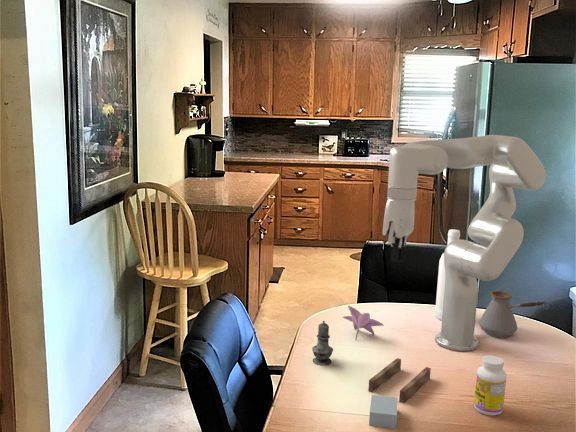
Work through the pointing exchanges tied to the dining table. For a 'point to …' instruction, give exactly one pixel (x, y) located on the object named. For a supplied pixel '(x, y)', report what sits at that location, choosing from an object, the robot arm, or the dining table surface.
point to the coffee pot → (501, 315)
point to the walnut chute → (392, 370)
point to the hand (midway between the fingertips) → (397, 260)
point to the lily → (362, 320)
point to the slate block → (383, 411)
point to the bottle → (443, 277)
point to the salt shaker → (322, 346)
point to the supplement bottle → (490, 386)
